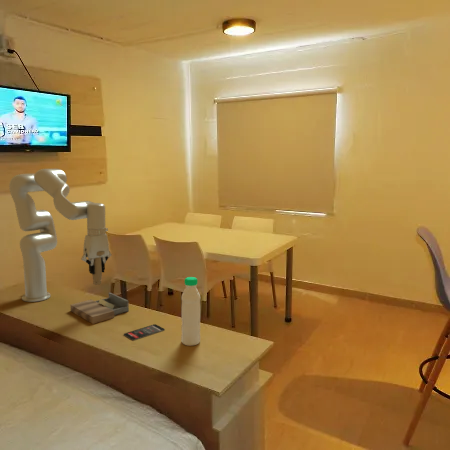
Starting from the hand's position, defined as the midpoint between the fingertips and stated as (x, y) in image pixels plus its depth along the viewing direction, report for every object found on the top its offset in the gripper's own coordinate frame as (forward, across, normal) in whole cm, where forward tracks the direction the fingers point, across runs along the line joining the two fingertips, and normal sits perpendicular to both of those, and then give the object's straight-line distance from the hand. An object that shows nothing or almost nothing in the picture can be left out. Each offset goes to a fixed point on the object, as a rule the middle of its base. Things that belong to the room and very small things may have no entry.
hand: (97, 272), depth 181 cm
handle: (+6, 0, 0) cm, 6 cm away
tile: (+16, -4, +1) cm, 17 cm away
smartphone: (+18, -2, +33) cm, 37 cm away
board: (+18, +3, +1) cm, 19 cm away
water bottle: (+17, -10, +52) cm, 56 cm away
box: (+18, -6, +1) cm, 19 cm away
